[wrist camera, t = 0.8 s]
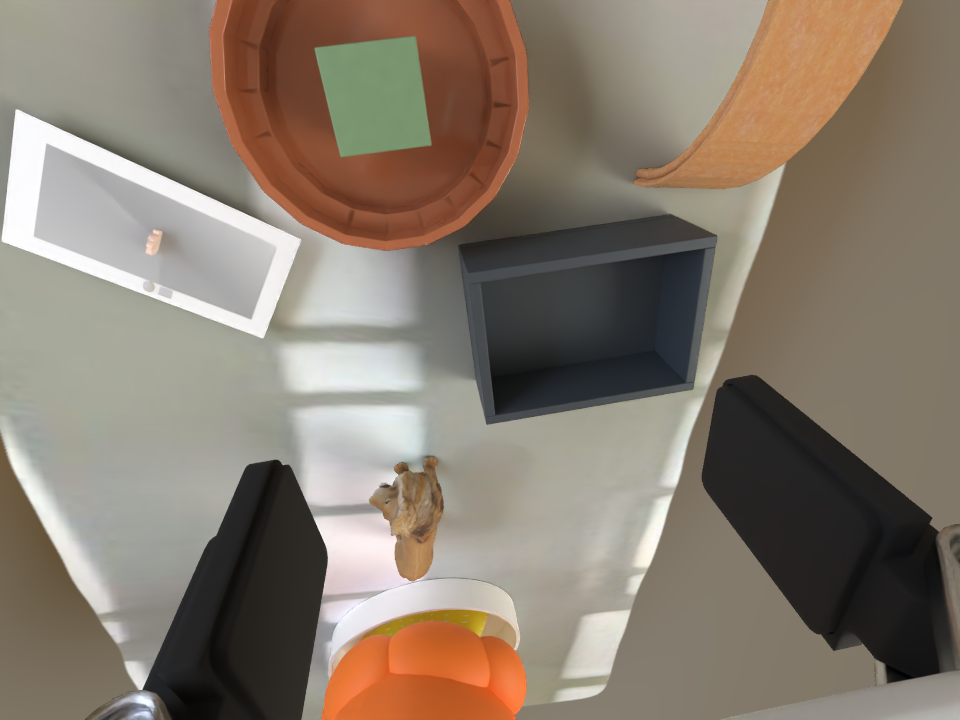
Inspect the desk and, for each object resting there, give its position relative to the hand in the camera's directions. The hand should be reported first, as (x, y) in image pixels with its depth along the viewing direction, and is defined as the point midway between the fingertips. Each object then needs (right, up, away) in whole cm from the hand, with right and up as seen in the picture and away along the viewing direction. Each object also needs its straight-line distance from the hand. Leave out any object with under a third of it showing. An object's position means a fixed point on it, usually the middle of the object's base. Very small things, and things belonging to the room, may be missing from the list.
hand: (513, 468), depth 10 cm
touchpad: (-21, +10, +19) cm, 30 cm away
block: (-6, +18, +17) cm, 25 cm away
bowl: (-6, +18, +17) cm, 25 cm away
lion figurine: (-7, -9, +33) cm, 35 cm away
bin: (+6, +7, +25) cm, 27 cm away
